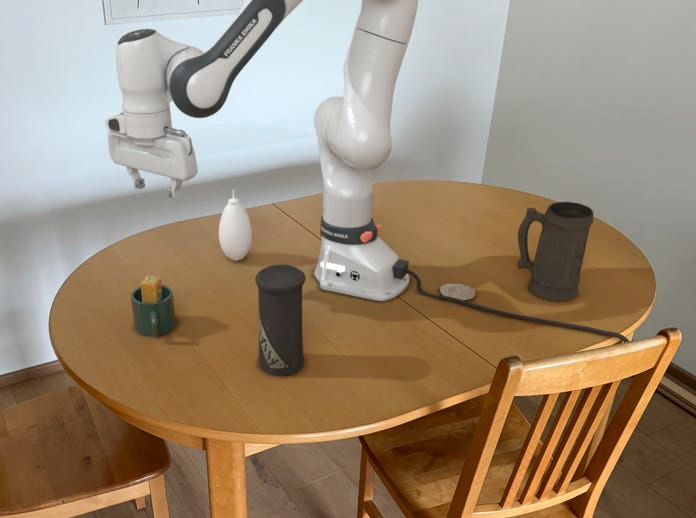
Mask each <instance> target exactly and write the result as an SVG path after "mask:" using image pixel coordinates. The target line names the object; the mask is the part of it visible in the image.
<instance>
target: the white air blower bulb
mask: <svg viewBox="0 0 696 518" xmlns="http://www.w3.org/2000/svg"><path fill="white" fill-rule="evenodd" d="M240 202H241V201H240V199H239V198H237V197H236V195H235V188H233V189H232V197H231V198H229V199H228V201H227V203H226V206H225V207H224V209H223V210H222V214H221V216H220V220H219V226H218V241H219V245H220V248H221V250H222V252H223V253H224V255H225V256H226V257H227V258H229V259H230V260H232V261H235V262H236V261H237V262H238V261H240V260H243V259H244V258H245V257H247V256H248V254H249V252H250V250H251V247H252V243H253V228H252V224H251V219H250V217H249V215H248V213H247V211H246V209H245V207H244V206H243V204H242V203H240Z"/></svg>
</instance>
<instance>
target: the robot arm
mask: <svg viewBox="0 0 696 518" xmlns="http://www.w3.org/2000/svg"><path fill="white" fill-rule="evenodd" d="M303 1H304V0H242V4H241V7H240V9H239V11H238V13H237V15H236V16H235V17H234V19H233V20H232V21H231V22H230V23H229V25H228V26H227V27H226V28H225V29H224V31H223V32H222V33H221V34H220V35H219V36H218V37H217V39H216V40H215V41H214V43H213V44H212V45H211V46H210V47H209V48H208V49H207V50H205V51H203V50H201V48H198V47H196V46H193V45H187V44H184V43H180V42H178V41H174V40H172V39H170V38H168V37H166V36H164V35H162V34H161V33H160V32H158V31H157V30H156V29H152V28H141V29H136V30H133V31H132V30H131V31H130V32H127V33H126V34H124V35H122V36H121V37H120V38H119V40H118V41H117V43H116V47H115V63H116V74H117V81H118V86H119V89H120V91H121V94H122V105H121V109H122V111H121V112H120V113H117V114H115V115H112V116H109V117H107V118H106V119H105V120H104V124H105V127H106V129H107V130H108V131H107V145H108V153H109V156H110V159H111V160H112V162H113V163H114V164H115V165H119V166H123V167H125V168H126V171H127V173H128V176H129V177H130V178H131V180H132V183H133V188H135V189H137V190H142V189H144V188H145V187H146V183H145V178H142V176H141V174H140V172H139V171H142V172H146V173H151V174H155V175H159V176H162V177H166V178H169V179H170V183H171V184H172V186H171V187H170V188H168V189H167V191H168V197H169V198H172V199H179V198H180V197H181V189H180V188H181V187H182V185H183V183H184V182H187V181H189V180H191V179H193V178H195V177H196V176H197V174H198V171H199V170H198V162H197V157H196V153H195V149H194V145H193V140H192V137H190V136H189V134H187V133H186V131H184V130H183V129H176V128H173V123H172V122H173V121H172V114H171V104H170V103H171V102H173V103H174V105H175V106H176V108H177V110H179V111H180V112H181V113H182V114H184V115H186V116H188V117H191V118H194V119H203V118H204V119H205V118H208V117H211V116H213V115H215V114H216V113H218V112H219V111H220V110H221V109H222V108H223V106H224V105H225V103H226V101H227V100H228V97H229V94H230V91H231V88H232V87H233V84H234V82H235V80H236V78H237V77H238V75H239V74H241V71H242V70H244V68H245V67H246V65H248V63H249V62H250V61H251V59H252V58H253V57H254V56H255V55H256V54H257V53H258V51H259V50H260V49H261V48H262V46H264V44H265V43H266V42H267V41H268V40H269V38H271V35H272V34H273V33H274V31H275V30H276V29H277V28H278V27H279V26H280V25H281V24H282V23H283V21H284V20H285V19H286V18H288V16H290V14H291V13H292V12H294V10H295V9H296V8H297V7H298V6H299V5H300V4H301V3H302V2H303ZM360 5H361V6H360V12H359V14H358V17H357V20H356V23H355V27H354V29H353V33H352V37H351V40H350V43H349V46H348V50H347V53H346V56H345V59H344V62H343V68H342V69H343V70H342V73H343V79H344V80H343V82H344V83H343V96H331V97H328V98H326V99H324V100H323V101H322V102H320V103H319V105H318V106H317V108H316V109H315V112H314V115H313V124H314V129H315V133H316V139H317V146H318V155H319V162H320V163H319V164H320V168H321V177H322V215H321V217H320V226H319V233H320V239H321V240H320V249H319V253H318V258H317V263H316V266H315V268H314V271H313V274H314V277H315V279H316V280H317V281H318V282H319V287H320V289H321V290H324V291H327V292H332V293H338V294H341V295H347V296H352V297H357V298H362V299H366V300H371V301H377V302H387V301H389V300H392V299H394V298H396V297H397V296H399V295H401V294H402V293H403V292H404V291H405V290H406V289H407V288H408V287H409V284H410V276H411V277H412V278H414V279H415V281H416V289H417V291H418V292H419V293H420V294H421V295H422V296H424V297H429V298H432V299H437V300H441V301H448V302H449V301H450V302H453V303H456V304H460V305H463V306H467V307H470V308H473V309H476V310H480V311H484V312H487V313H492V314H495V315H499V316H504V317H509V318H512V319H518V320H523V321H526V322H527V321H528V322H533V323H538V324H545V325H551V326H557V327H563V328H568V329H573V330H579V331H585V332H590V333H595V334H597V335H598V334H599V335H603V336H608V337H613V338H617V339H619V340H621V341H622V342H623V343H624V344H625V342H630V340H629V339H628V338H627V337H626V336H624V335H623V334H621V333H618V332H614V331H608V330H603V329H599V328H595V327H590V326H586V325H581V324H580V325H579V324H574V323H567V322H561V321H557V320H550V319H544V318H539V317H534V316H533V317H532V316H528V315H522V314H517V313H513V312H508V311H503V310H499V309H496V308H495V309H494V308H491V307H488V306H483V305H479V304H476V303H473V302H470V301H468V300H460V299H457V298H453V297H448V296H443V295H437V294H436V295H435V294H431V293H428V292H427V291H425V290H424V289H423V288H422V282H421V278H420V277H419V275H418V274H416V272H414V271H412V270H411V269H409V267H410V266H409V265H410V261H409V260H405V259H400V258H399V255H398V254H397V253H396V252H395V251H394V250H393V249H392V248H391V247H390V246H389V245H388V244H387V243H386V242H385V241H384V240H383V239H382V238H381V237H380V236H379V233H378V231H380V230H381V229H382V225H383V223H379V224H378V225H376V224H375V221H374V218H373V203H374V181H373V178H372V176H371V171H373V170H376V169H377V168H380V167H381V166H382V165H383V164H385V162H386V161H387V160H388V158H389V157H390V155H391V152H392V149H393V139H392V135H391V134H392V133H391V119H392V110H393V109H392V108H393V101H394V93H395V89H396V84H397V80H398V77H399V74H400V72H401V71H400V70H401V68H402V67H401V66H402V64H403V61H404V58H405V56H406V52H407V49H408V46H409V43H410V41H411V36H412V33H413V29H414V26H415V21H416V16H417V12H418V6H419V0H361V4H360Z"/></svg>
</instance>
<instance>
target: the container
mask: <svg viewBox="0 0 696 518" xmlns="http://www.w3.org/2000/svg"><path fill="white" fill-rule="evenodd" d="M254 280H255V284H256V286H257V287H258V289H257V290H258V291H257V292H258V294H257V295H258V365H259V367H260V369H261V370H262V371H264V372H265V373H266V374H270V375H273V376H280V377H281V376H282V377H283V376H290V375H291V376H292V375H294V374H296V373H298V372H299V371H300V370H301V369H302V368H303V366H304V342H303V340H304V338H303V337H304V336H303V286H304V284H305V282H306V274H305V273H304V272H303V270H301V268H298V267H296V266H293V265H290V264H289V265H288V264H273V265H269V266H265V267H264V268H262V269H260V270H259V271H258V272H257V273H256V275H255V279H254Z"/></svg>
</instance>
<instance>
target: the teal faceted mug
mask: <svg viewBox="0 0 696 518" xmlns="http://www.w3.org/2000/svg"><path fill="white" fill-rule="evenodd" d="M161 285H162V298H163V300H162V301H159V302H154V303H144V302H143V301H142V291H141V286H139V287H136V288H135V289H133V290H132V291H131V293H130V303H131V308H132V316H133V322H134V327H135V330H136V331H137V333H139V334H141V335H143V336H147V337H153V338H155V339H156V338H159V337H160V336H163V335H166V334H168V333H170V332H172V331H173V330H174V329H175V328H176V326H177V319H176V310H175V302H174V301H175V299H174V293H173V292H174V291H173V289H172V288H171V287H170V286H167V285H165V284H161Z"/></svg>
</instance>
